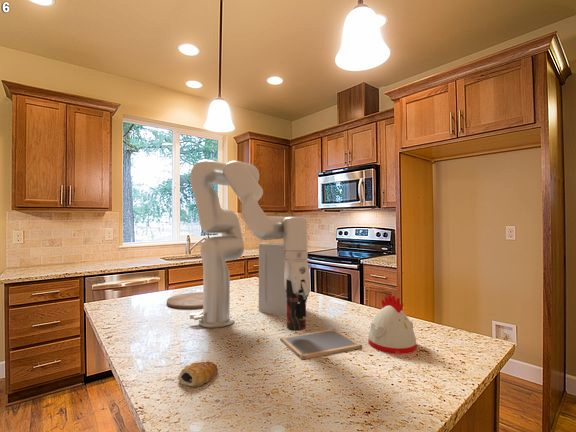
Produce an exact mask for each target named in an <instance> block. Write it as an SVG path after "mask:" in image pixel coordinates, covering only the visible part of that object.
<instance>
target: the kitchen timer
mask: <svg viewBox="0 0 576 432" xmlns="http://www.w3.org/2000/svg"><path fill="white" fill-rule="evenodd" d="M400 300H401V299H400V297H397V298H396V296H395V295H391V294H389V295H388V296H387V297H386V296H385V297H384V299H382V300H381V305H382V308H381V309H379V311H378V312H377V313H376V314H375V316H374V318H373V319H372V322H371V323H370V326H369V327H370V328H369V331H368V345H369V346H370V347H371V348H373V349H374V350H377V351H378V352H382V353H385V354H393V355H397V354H398V355H404V354H411V353H413V352H415V351H416V349H417V339H416V335H415V334H416V333H415V330H414V329H413V328H414V324H413V322H412V320H410V319H409V317H408V316H407V314H406V313H405V312H404V311H403V310H402V309H403V306H404V302H402V303H401V301H400Z"/></svg>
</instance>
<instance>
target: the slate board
mask: <svg viewBox="0 0 576 432" xmlns="http://www.w3.org/2000/svg"><path fill="white" fill-rule="evenodd" d="M280 341H281V343H282V344H284V345H285V346H286V347H287V348H288V349H289V350H290V351H292V353H293V354H295V355H296V356H297V357H298V358H299V359H300V360H306V359H311V358H316V357H320V356H321V357H322V356H325V355H326V356H327V355H332V354H337V353H343V352H347V351H352V350H356V349H362V348H363V344H361V343H360V342H358V341H355V339H352V338H351V337H349V336H348V335H346V334H344V333H342V332H340V331H339V330H337V329H335V328H333V329H327V330H321V331H315V332H309V333H307V332H306V333H301V334H296V335H289V336H283V337H280Z"/></svg>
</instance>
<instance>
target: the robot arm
mask: <svg viewBox="0 0 576 432" xmlns="http://www.w3.org/2000/svg"><path fill="white" fill-rule="evenodd" d="M191 168H192V169H191V170H190V171H191V172H190V176H189V177H190V180H189V181H190V186H191V190H192V192H193V196H194V198H195V205H196V211H197V214H198V221H199V225H200V229H201V231H203V233H206V234H210V235H211V234H212V235H213V234H215V235H216V234H221V236H211V237H208V238H206V239H205V240H204V241H203V242H202V243H201V246H200V256H201V261H202V270H203V272H202V273H203V277H202V279H203V290H202V292H203V308H201V311H199V312H197V313H189V319H190V320H194V321H198V324H199V326H200V327H204V328H210V329H211V328H213V329H215V328H223V327H226V326H227V327H228V326H230V325H232V324H233V323H234V322H235V319H234V316H232V315H230V314H231V313H230V311H231V309H230V307H231V305H230V303H231V301H230V299H231V297H230V296H231V295H230V292H231V290H230V289H231V286H230V285H231V281H230V280H231V279H230V277H231V275H230V270H229V267H228V265H227V263H226V262H230V261H235V260H238V259H240V258H241V257H242V256H243V253H244V250H245V245H244V244H245V243H244V238H243V234H242V229H241V223H240V219H239V216H238V215H237V214H236V213H235V212H234V211H233V210H232V209H227V208H222V206H221V203H220V198H219V195H218V193H217V191H216V190H215V189H214V187H213V186H212V185H221V186H227V187H228V186H230V188H231V189H232V190H233V192H234V194H235V195H236V196H237V197H238V200H239V201H240V203H241V213H242V218H243V220H244V222H245V224H246V225H247V227H248V228H249V229H250V232H251V233H252V234H253V235H254V236H255V237H257V239H260V240H261V241H269V240H270V241H271V240H283V243H284V261H285V268H284V286H285V289H286V293H287V284H286V280H290V281H291V284H292V290H293V293H294V294H296V300H297V304H296V317H303V316H307V309H306V308H307V301H308V298H309V295H310V292H311V278H310V277H311V276H310V268H309V262H308V220H307V218H306V217H305V216H278V215H277V216H276V215H266V213H265V211H264V210H263V208H261V206H260V203H259V201H260V200H261V198H262V196H263V195H264V190H263V188H262V186H261V185H260V184H259V181H260V172H259V169H258V168H257V167H256V165H254V164H252V163H248V162H245V161H244V162H243V161H240V160H231V161H229V162H227V163H226V162H220V161H215V160H211V159H202V160H199V161H196V163H194V165H193V167H191ZM299 291H302V292H303V293H299ZM299 295H302V296H301V297H300V299H299ZM286 298H287V294H286Z"/></svg>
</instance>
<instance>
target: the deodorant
mask: <svg viewBox="0 0 576 432" xmlns="http://www.w3.org/2000/svg"><path fill="white" fill-rule="evenodd" d="M286 284H287V317H286V329H287V330H288V331H293V332H294V331H295V332H297V331H298V332H300V331H304V330H306V328H307V323H306V322H307V319H306V318H307V317H306V316H307V315H306V316H303V317H296V304H297V300H296V294H294V293H293V290H292V284H291V281H290V280H286ZM299 293H303V292H302V291H299ZM301 296H302V295H299V299H300V297H301Z"/></svg>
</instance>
